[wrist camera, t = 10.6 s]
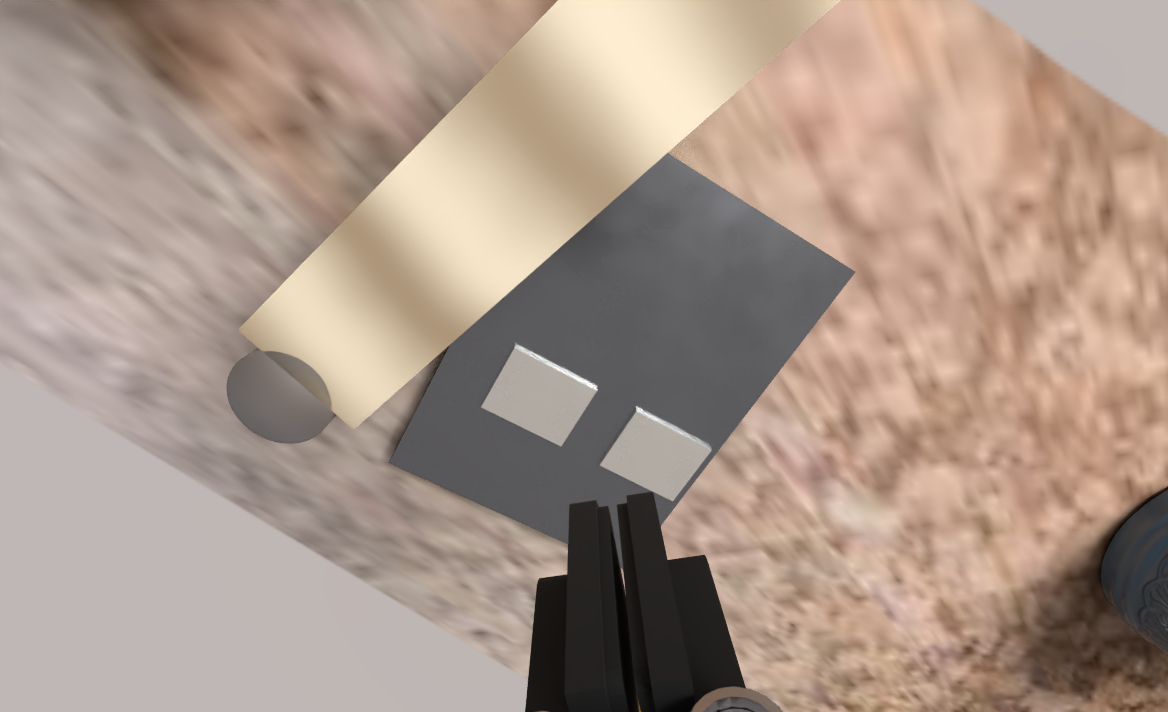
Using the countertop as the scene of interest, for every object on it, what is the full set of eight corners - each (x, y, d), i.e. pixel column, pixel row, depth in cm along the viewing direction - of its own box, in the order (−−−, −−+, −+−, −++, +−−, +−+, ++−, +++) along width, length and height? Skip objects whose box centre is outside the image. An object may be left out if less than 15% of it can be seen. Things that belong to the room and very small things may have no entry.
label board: (306, 410, 32) (229, 488, 25) (471, 31, 25) (428, -10, 18) (625, 556, 36) (635, 658, 29) (844, 266, 29) (928, 308, 22)
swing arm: (337, 432, 23) (304, 473, 20) (238, 349, 22) (188, 380, 19) (878, -49, 17) (936, -85, 14) (789, -209, 16) (834, -284, 13)
